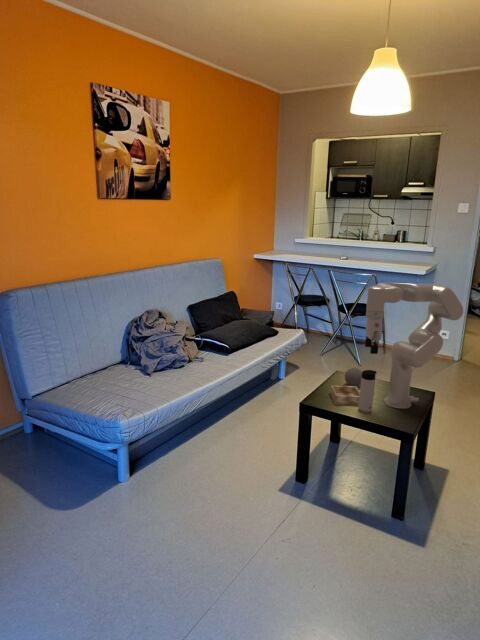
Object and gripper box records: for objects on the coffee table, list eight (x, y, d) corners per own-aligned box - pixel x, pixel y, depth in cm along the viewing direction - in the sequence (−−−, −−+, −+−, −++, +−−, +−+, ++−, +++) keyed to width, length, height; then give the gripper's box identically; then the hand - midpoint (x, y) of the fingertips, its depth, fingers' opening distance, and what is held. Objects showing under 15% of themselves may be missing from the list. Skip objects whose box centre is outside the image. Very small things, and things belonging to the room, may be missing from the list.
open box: (355, 394, 231) (356, 386, 230) (361, 405, 218) (362, 396, 217) (330, 393, 231) (330, 385, 230) (334, 404, 218) (335, 396, 217)
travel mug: (373, 414, 209) (377, 374, 204) (358, 412, 211) (362, 372, 206) (372, 408, 215) (376, 369, 210) (357, 407, 217) (361, 368, 211)
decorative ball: (351, 380, 249) (353, 363, 246) (366, 386, 241) (368, 369, 239) (340, 385, 243) (341, 367, 240) (355, 391, 235) (357, 373, 233)
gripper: (388, 318, 193) (384, 356, 197) (377, 309, 209) (374, 344, 214) (371, 318, 193) (367, 356, 197) (361, 309, 209) (358, 344, 214)
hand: (371, 350), depth 205 cm, fingers open, 9 cm apart
